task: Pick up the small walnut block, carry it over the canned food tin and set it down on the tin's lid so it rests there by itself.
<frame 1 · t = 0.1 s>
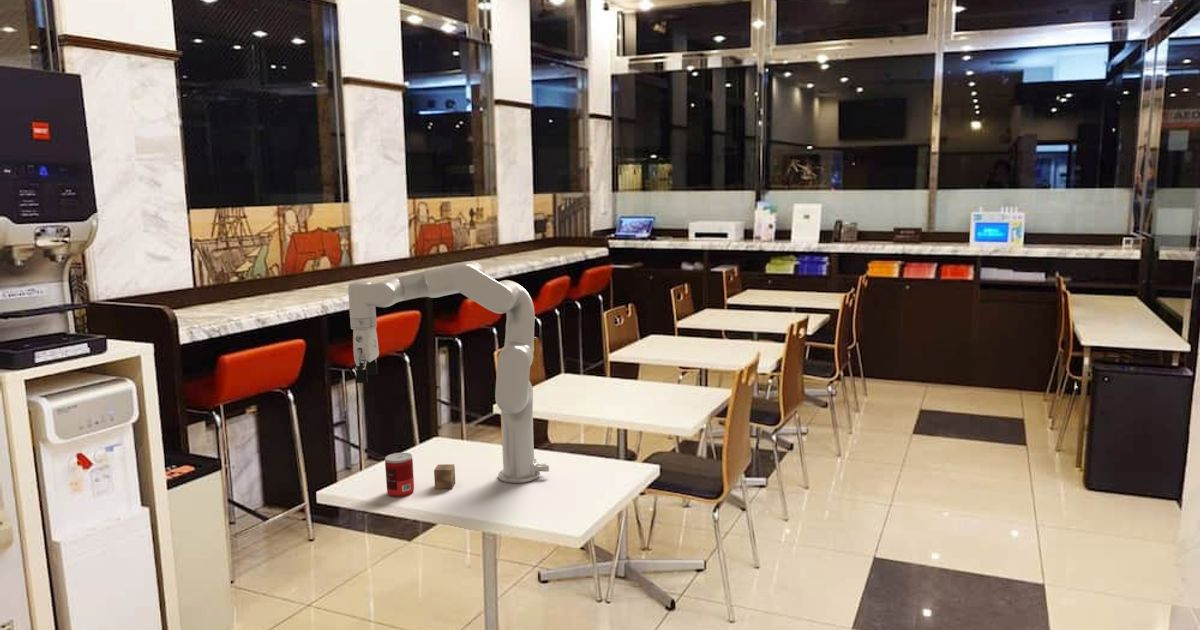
hand: (367, 378, 259), 31 cm above the table, fingers open, 9 cm apart
canned food: (400, 493, 251), on the table
walnut block: (445, 486, 255), on the table
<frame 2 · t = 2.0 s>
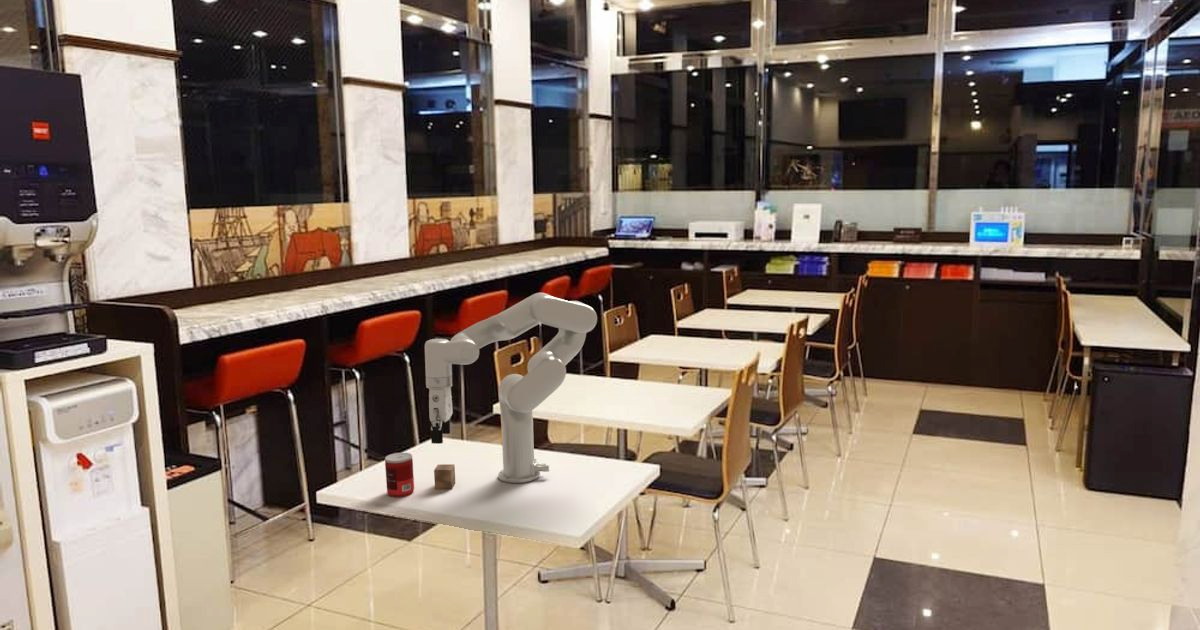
hand: (441, 438, 253), 15 cm above the table, fingers open, 9 cm apart
nothing on the table moved.
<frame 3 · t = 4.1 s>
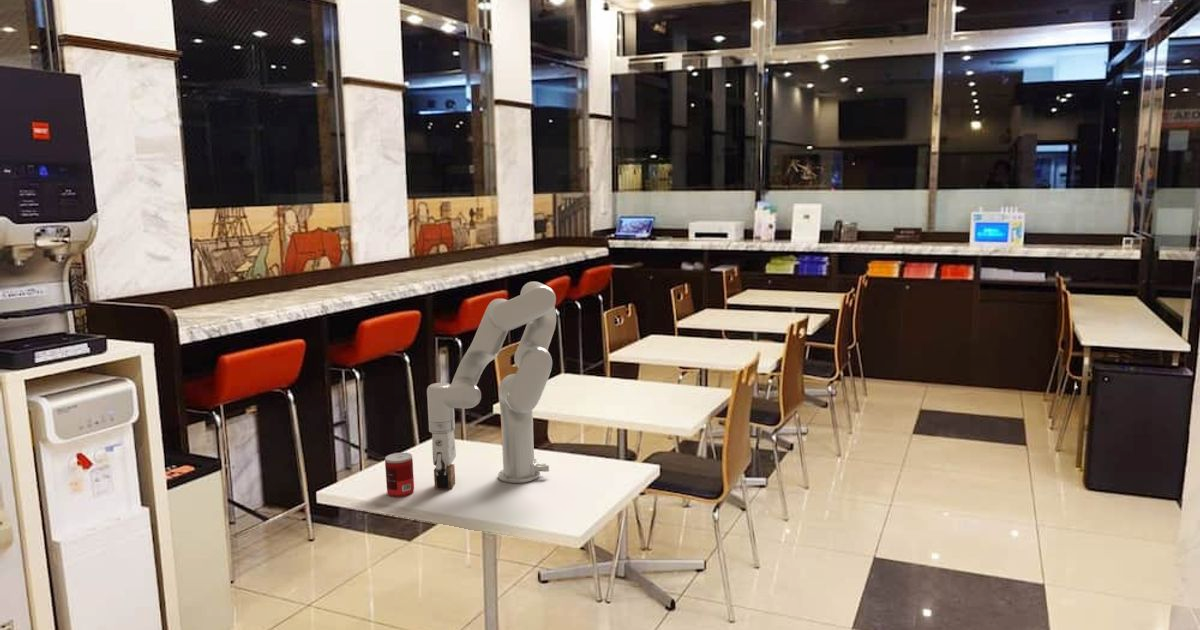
hand: (445, 483, 255), 1 cm above the table, fingers closed on walnut block, 5 cm apart
walnut block: (445, 486, 255), on the table, touching gripper
everything else where it was.
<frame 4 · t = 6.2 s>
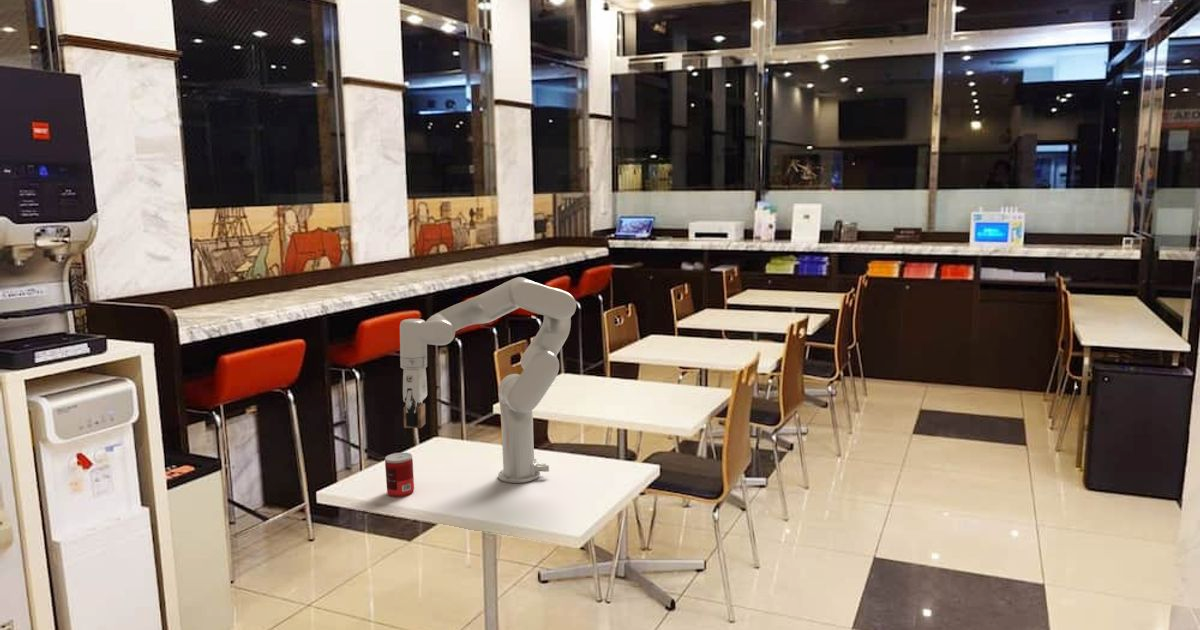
hand: (414, 422, 249), 20 cm above the table, fingers closed on walnut block, 5 cm apart
walnut block: (414, 425, 250), point 20 cm above the table, touching gripper
everything else where it was.
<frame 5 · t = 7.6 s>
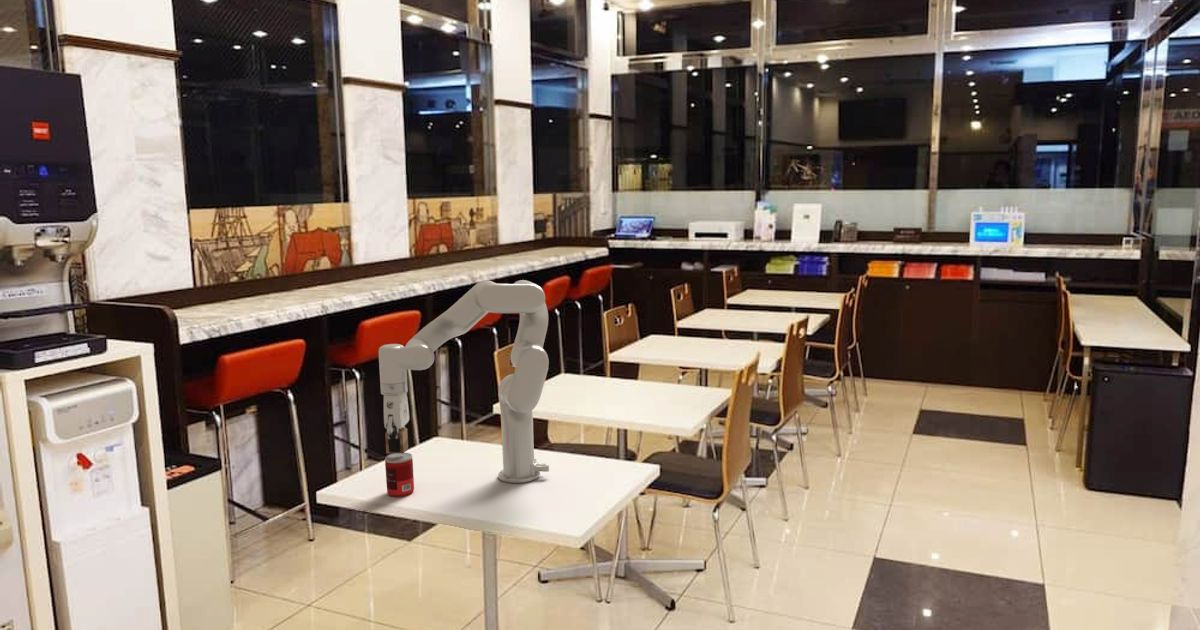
hand: (397, 448, 249), 14 cm above the table, fingers closed on walnut block, 5 cm apart
walnut block: (397, 450, 249), point 13 cm above the table, touching gripper
everything else where it was.
when the fingers open (12 cm above the table, at t = 8.6 s): walnut block stays where it is, resting on canned food.
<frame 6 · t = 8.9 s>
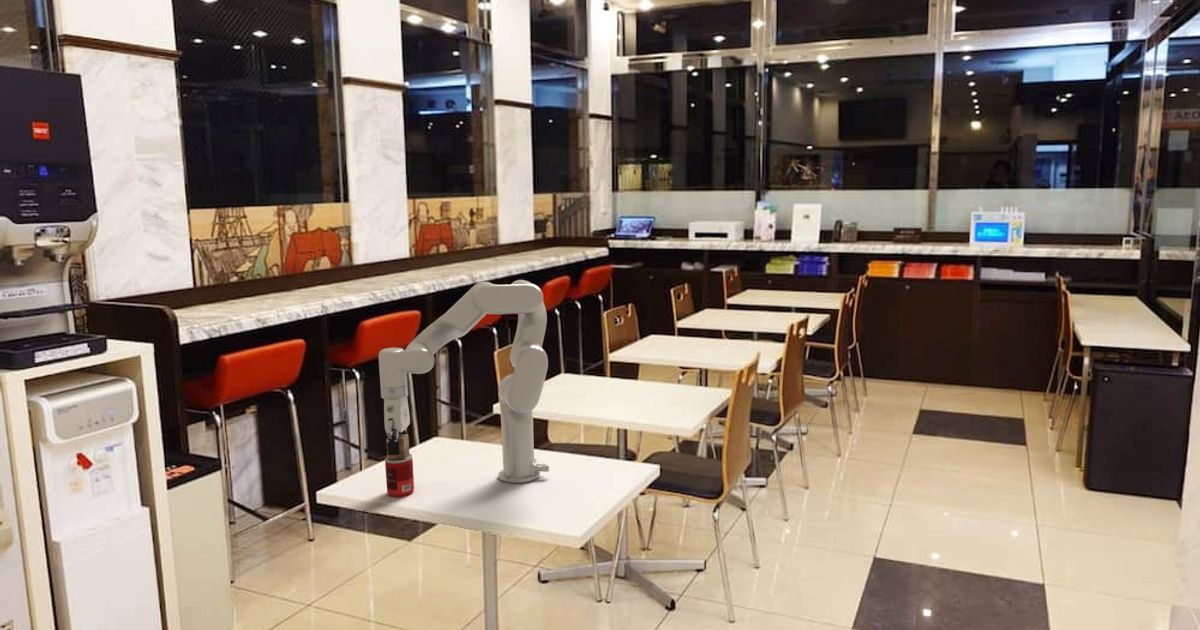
hand: (398, 449, 249), 13 cm above the table, fingers open, 8 cm apart
canned food: (400, 493, 251), on the table, touching walnut block
walnut block: (398, 456, 249), point 11 cm above the table, touching canned food
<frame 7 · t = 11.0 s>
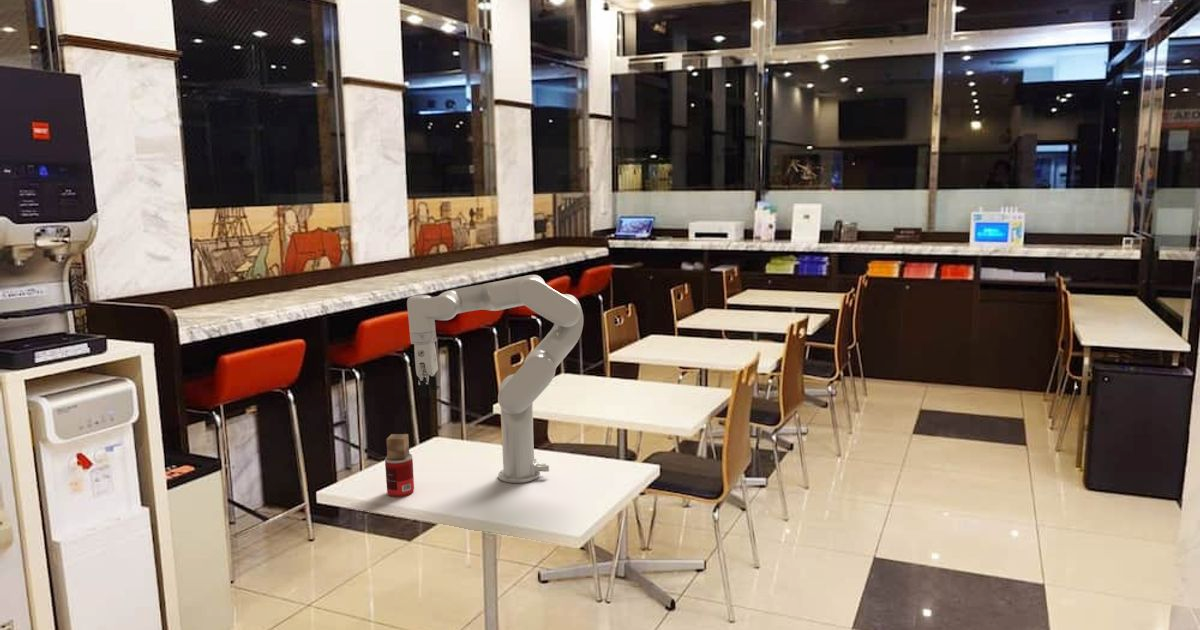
hand: (428, 393, 257), 27 cm above the table, fingers open, 9 cm apart
nothing on the table moved.
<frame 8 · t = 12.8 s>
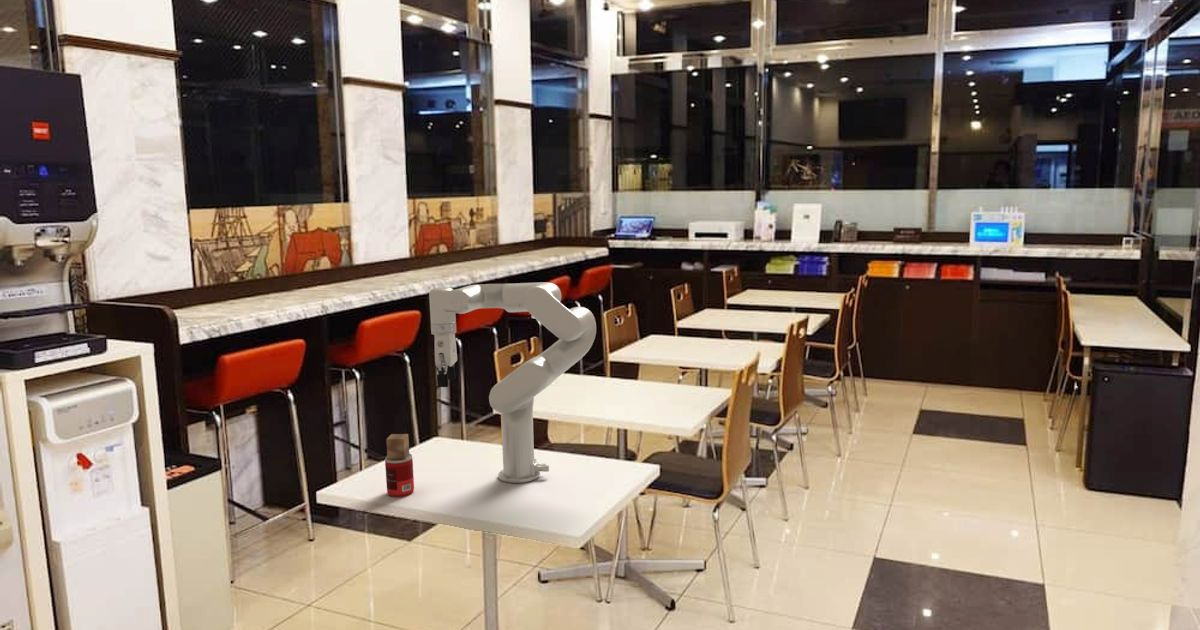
hand: (446, 383, 264), 28 cm above the table, fingers open, 9 cm apart
nothing on the table moved.
at the end: walnut block 0.0 cm off-centre on the canned food, point 11.2 cm above the canned food's base; walnut block tilted 0°; the gripper is holding nothing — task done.
